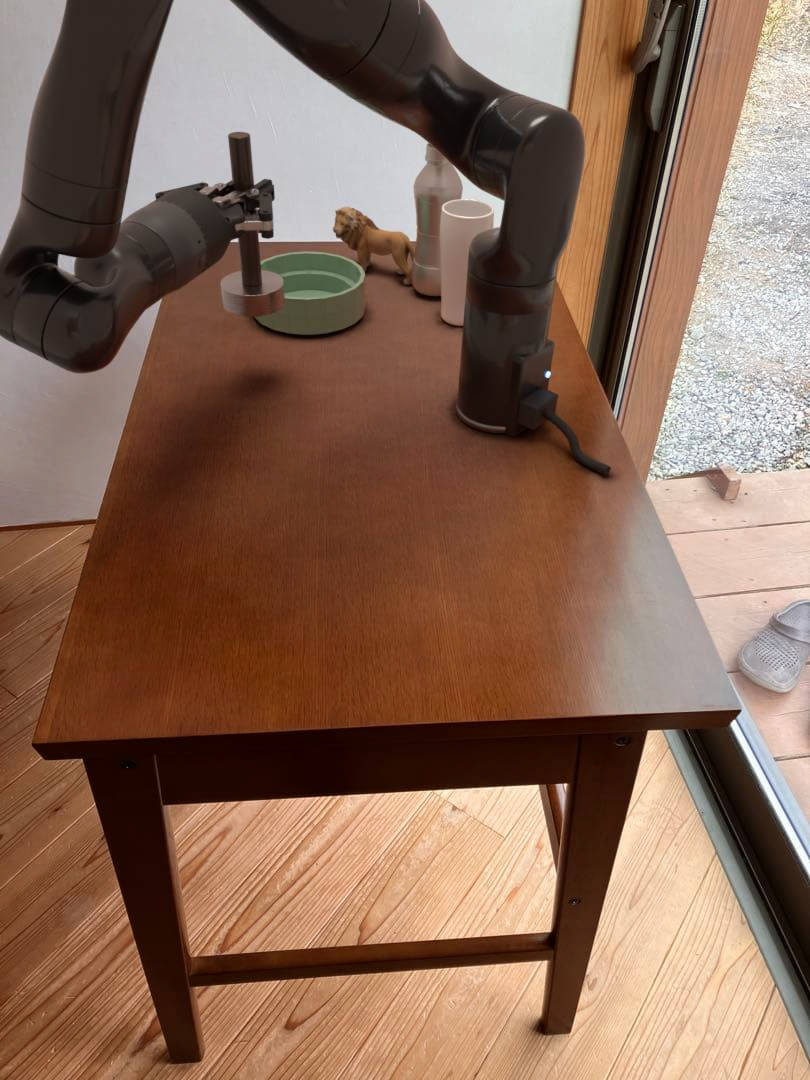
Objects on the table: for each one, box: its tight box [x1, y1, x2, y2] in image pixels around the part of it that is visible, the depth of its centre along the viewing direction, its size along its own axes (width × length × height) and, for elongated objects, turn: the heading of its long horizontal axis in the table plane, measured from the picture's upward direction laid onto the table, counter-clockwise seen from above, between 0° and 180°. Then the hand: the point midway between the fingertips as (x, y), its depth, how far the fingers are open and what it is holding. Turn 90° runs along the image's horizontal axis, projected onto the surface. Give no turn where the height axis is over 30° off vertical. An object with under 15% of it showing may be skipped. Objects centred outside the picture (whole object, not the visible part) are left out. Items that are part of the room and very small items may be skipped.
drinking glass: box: [440, 198, 495, 327], centre depth 116 cm, size 7×7×15 cm
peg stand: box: [220, 131, 285, 318], centre depth 94 cm, size 7×7×18 cm
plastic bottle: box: [411, 142, 464, 297], centre depth 120 cm, size 6×7×20 cm
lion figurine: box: [332, 206, 415, 286], centre depth 128 cm, size 15×5×9 cm, turn 70°
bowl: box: [254, 251, 366, 336], centre depth 119 cm, size 15×15×6 cm
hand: (257, 186), depth 95 cm, fingers closed on peg stand
